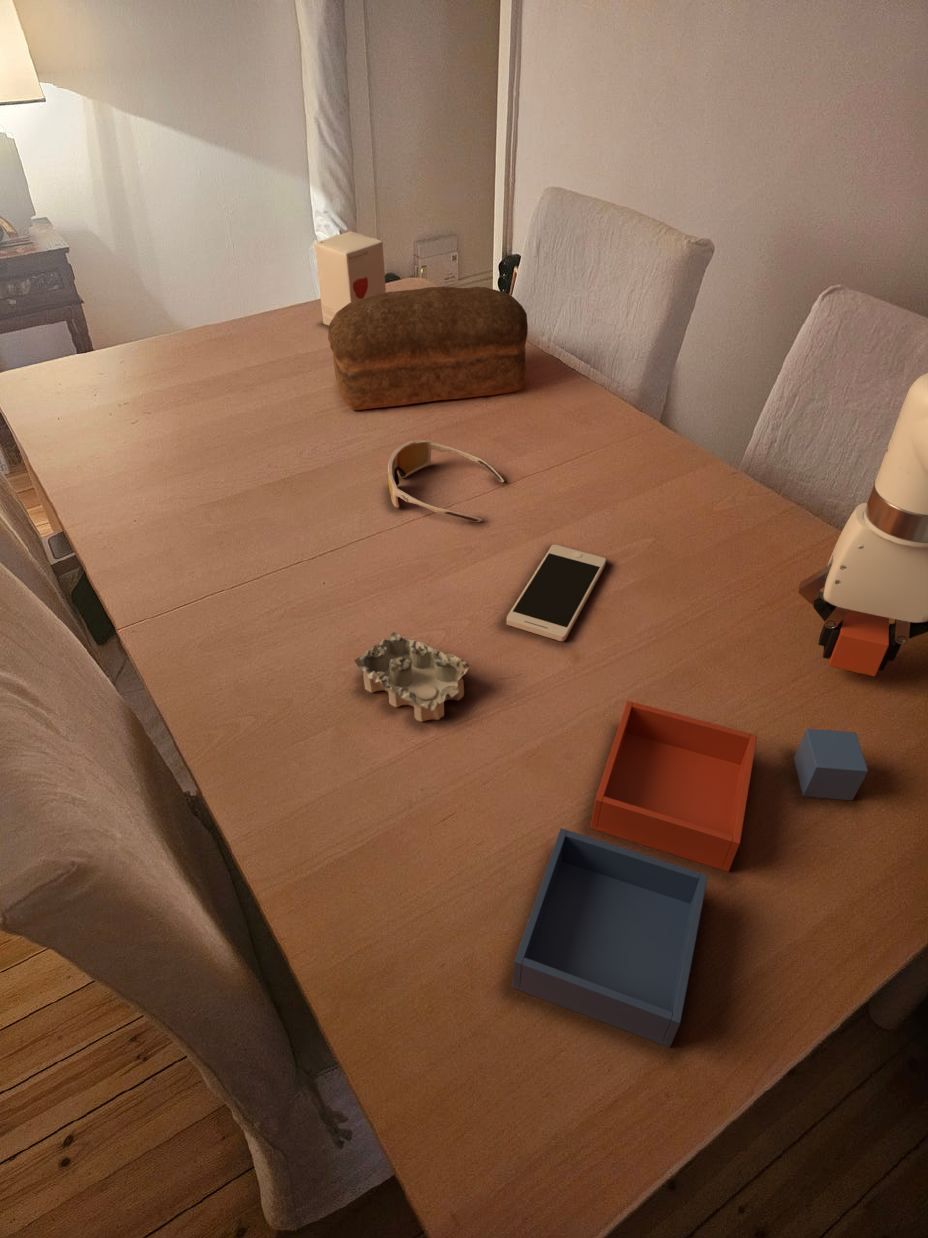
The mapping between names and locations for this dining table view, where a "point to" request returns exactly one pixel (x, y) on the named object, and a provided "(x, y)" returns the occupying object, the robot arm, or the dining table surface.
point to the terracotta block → (861, 643)
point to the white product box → (348, 271)
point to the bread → (428, 346)
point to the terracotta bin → (676, 785)
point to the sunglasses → (416, 458)
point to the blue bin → (612, 936)
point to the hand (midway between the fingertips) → (853, 654)
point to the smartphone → (556, 592)
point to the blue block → (830, 764)
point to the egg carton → (413, 675)
